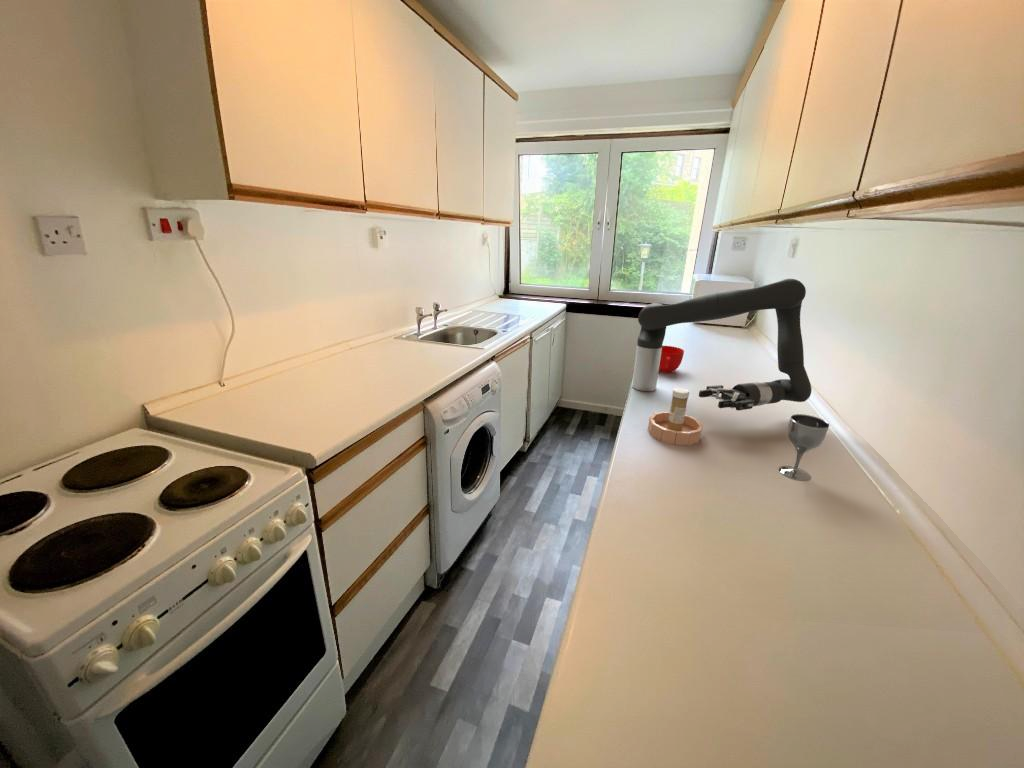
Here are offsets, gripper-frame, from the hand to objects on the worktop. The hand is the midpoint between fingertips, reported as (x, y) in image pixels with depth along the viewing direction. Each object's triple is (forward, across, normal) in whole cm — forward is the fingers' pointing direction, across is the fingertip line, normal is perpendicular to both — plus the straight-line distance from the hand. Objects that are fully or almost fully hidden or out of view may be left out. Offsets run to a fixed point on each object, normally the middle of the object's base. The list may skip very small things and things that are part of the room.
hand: (709, 399), depth 128 cm
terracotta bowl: (+11, 0, +10) cm, 15 cm away
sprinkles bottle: (+11, 0, +10) cm, 14 cm away
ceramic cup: (-23, -52, +11) cm, 58 cm away
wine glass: (-6, +28, +10) cm, 30 cm away
